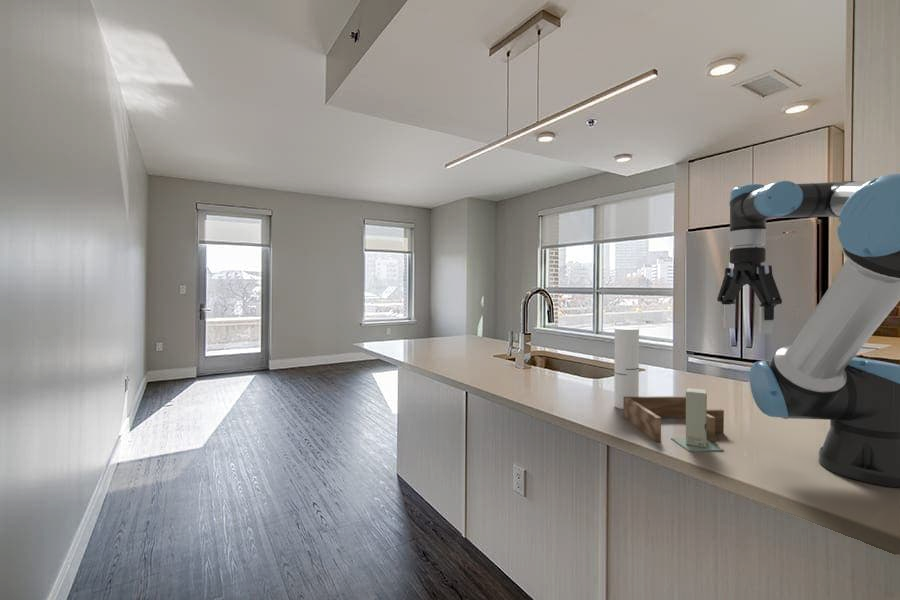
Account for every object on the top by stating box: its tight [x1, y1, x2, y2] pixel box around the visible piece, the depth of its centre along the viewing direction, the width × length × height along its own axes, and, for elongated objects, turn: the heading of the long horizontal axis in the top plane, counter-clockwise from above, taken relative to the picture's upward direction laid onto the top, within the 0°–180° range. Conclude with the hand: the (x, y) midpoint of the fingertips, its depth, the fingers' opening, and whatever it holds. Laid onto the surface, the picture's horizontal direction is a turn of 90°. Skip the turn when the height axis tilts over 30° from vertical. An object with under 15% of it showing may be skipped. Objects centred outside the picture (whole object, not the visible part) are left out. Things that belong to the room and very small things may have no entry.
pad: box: [670, 437, 724, 452], centre depth 102 cm, size 8×8×1 cm
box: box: [685, 387, 708, 447], centre depth 102 cm, size 5×4×13 cm
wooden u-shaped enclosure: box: [623, 395, 725, 443], centre depth 114 cm, size 20×20×6 cm
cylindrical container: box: [613, 327, 640, 410], centre depth 135 cm, size 7×7×25 cm
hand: (746, 331), depth 108 cm, fingers open, 13 cm apart
